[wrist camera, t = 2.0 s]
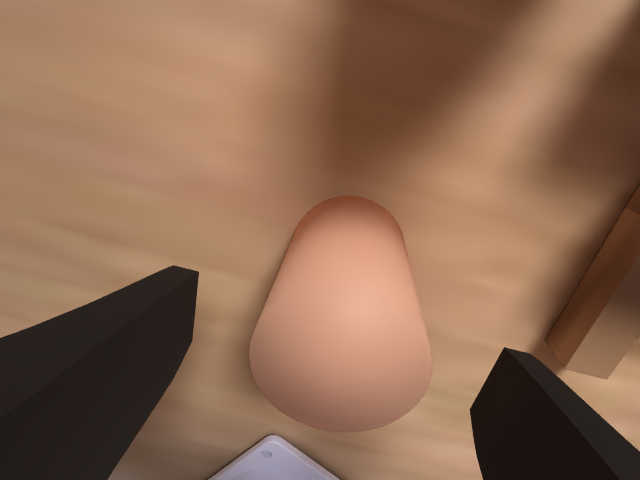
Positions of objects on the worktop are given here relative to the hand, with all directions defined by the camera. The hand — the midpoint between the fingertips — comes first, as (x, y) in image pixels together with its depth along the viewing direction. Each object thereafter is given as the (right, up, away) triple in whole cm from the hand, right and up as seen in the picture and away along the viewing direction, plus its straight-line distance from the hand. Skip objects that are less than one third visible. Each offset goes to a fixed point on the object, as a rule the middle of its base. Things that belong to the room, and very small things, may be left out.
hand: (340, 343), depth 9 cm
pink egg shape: (+1, +2, +5) cm, 5 cm away
